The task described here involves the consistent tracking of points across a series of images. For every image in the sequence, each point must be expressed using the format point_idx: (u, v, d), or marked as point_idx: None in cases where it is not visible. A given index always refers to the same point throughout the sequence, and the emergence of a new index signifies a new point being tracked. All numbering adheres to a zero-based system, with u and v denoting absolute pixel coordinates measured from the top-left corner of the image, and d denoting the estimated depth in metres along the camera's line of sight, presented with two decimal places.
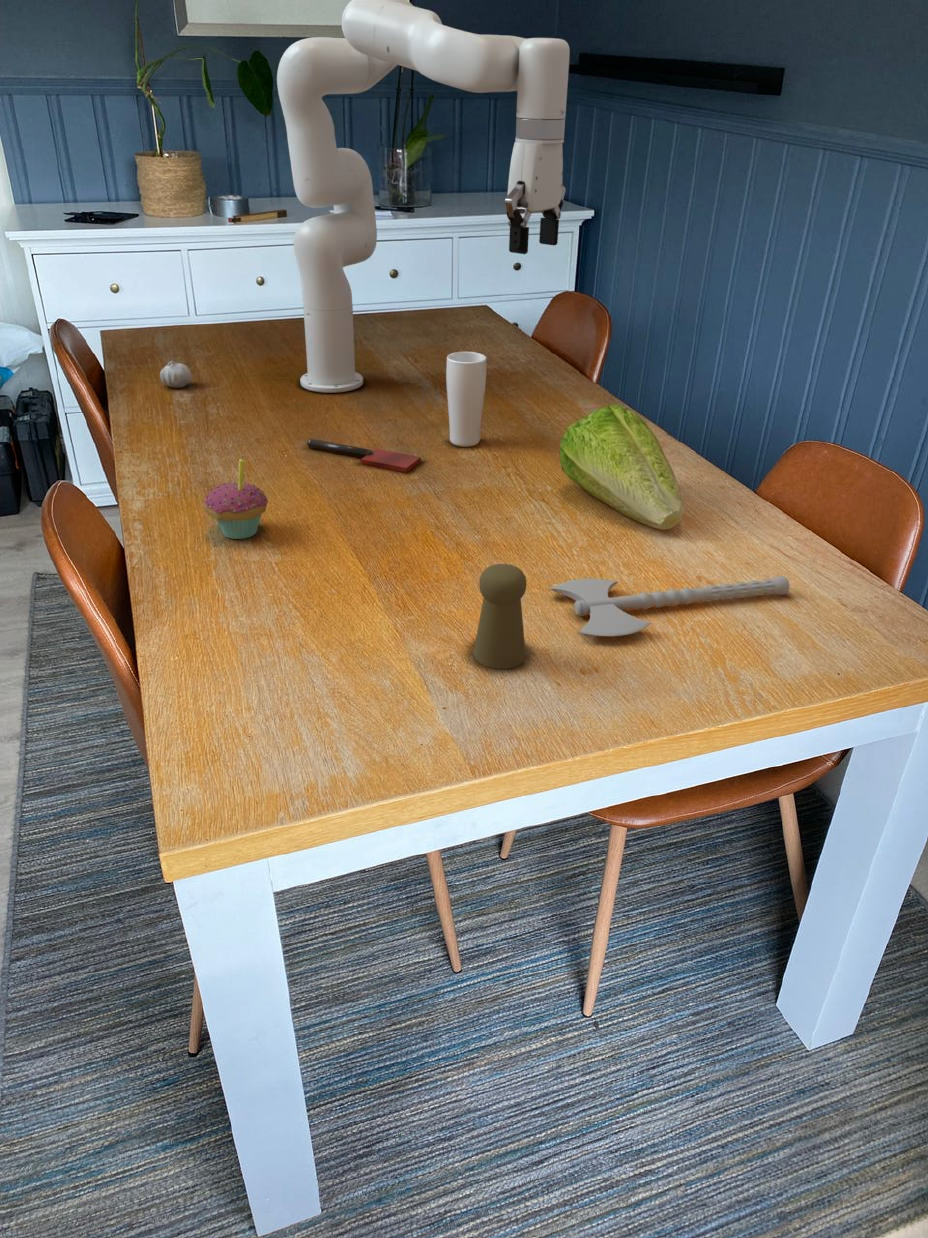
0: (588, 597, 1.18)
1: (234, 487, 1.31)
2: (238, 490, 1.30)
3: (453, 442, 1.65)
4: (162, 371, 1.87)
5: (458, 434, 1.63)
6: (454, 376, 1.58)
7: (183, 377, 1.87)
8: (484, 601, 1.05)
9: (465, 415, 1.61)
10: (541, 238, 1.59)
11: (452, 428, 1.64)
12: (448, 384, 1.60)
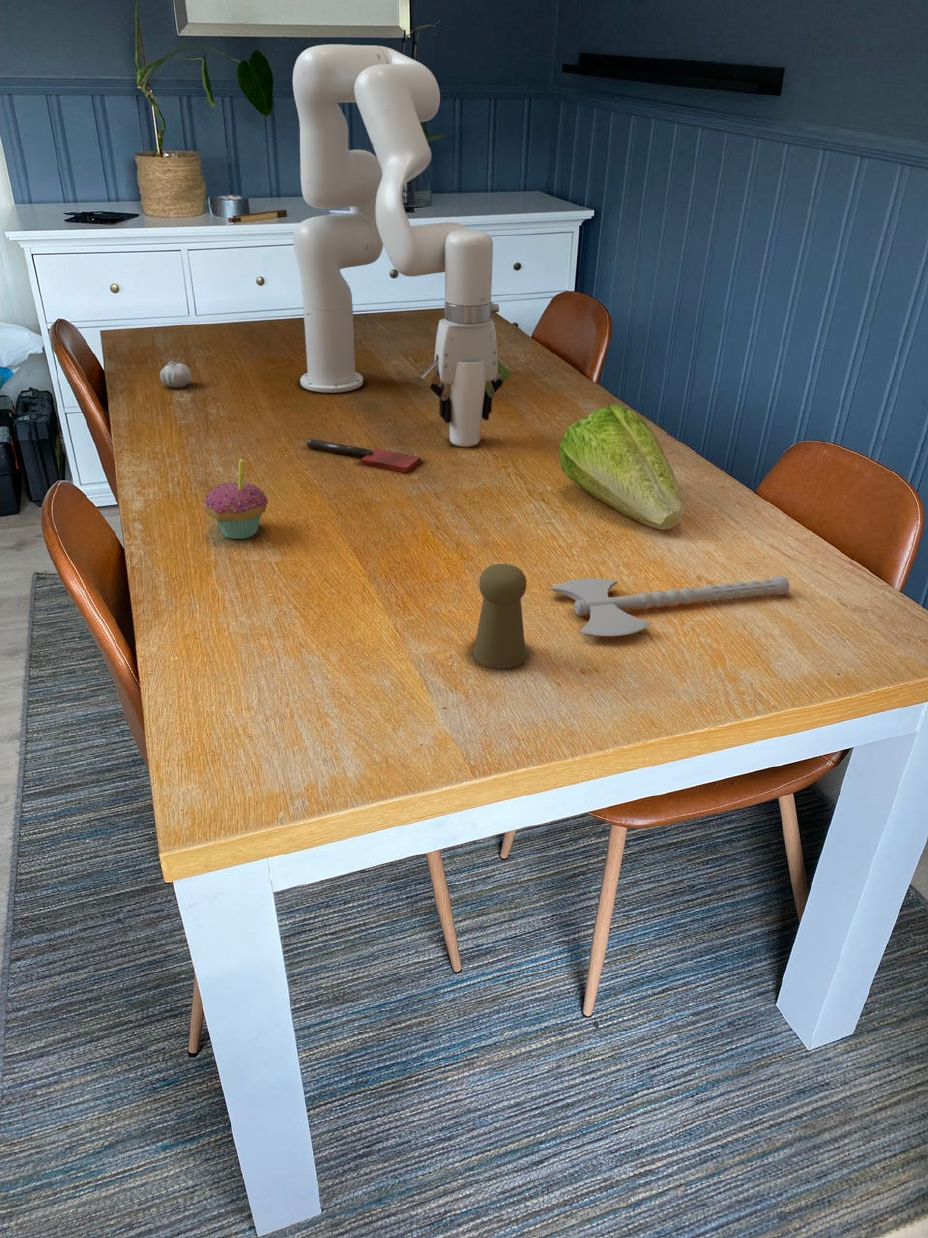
0: (588, 597, 1.18)
1: (234, 487, 1.31)
2: (238, 490, 1.30)
3: (453, 442, 1.65)
4: (162, 371, 1.87)
5: (458, 434, 1.63)
6: None
7: (183, 377, 1.87)
8: (484, 601, 1.05)
9: (465, 415, 1.61)
10: None
11: (452, 428, 1.64)
12: None
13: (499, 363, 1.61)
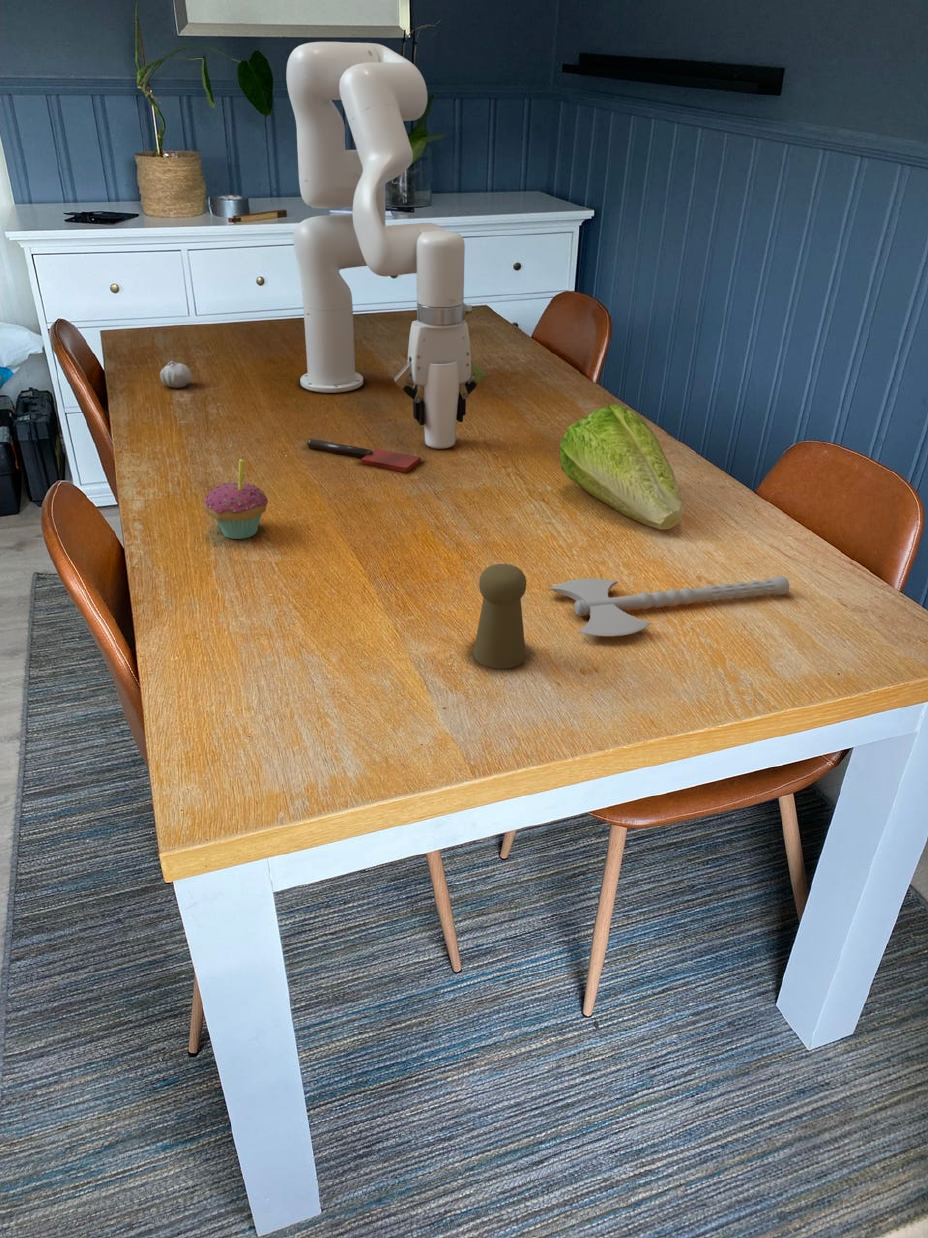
0: (588, 597, 1.18)
1: (234, 487, 1.31)
2: (238, 490, 1.30)
3: (428, 444, 1.64)
4: (162, 371, 1.87)
5: (433, 436, 1.62)
6: None
7: (183, 377, 1.87)
8: (484, 601, 1.05)
9: (439, 417, 1.60)
10: None
11: (427, 430, 1.63)
12: None
13: (473, 365, 1.59)
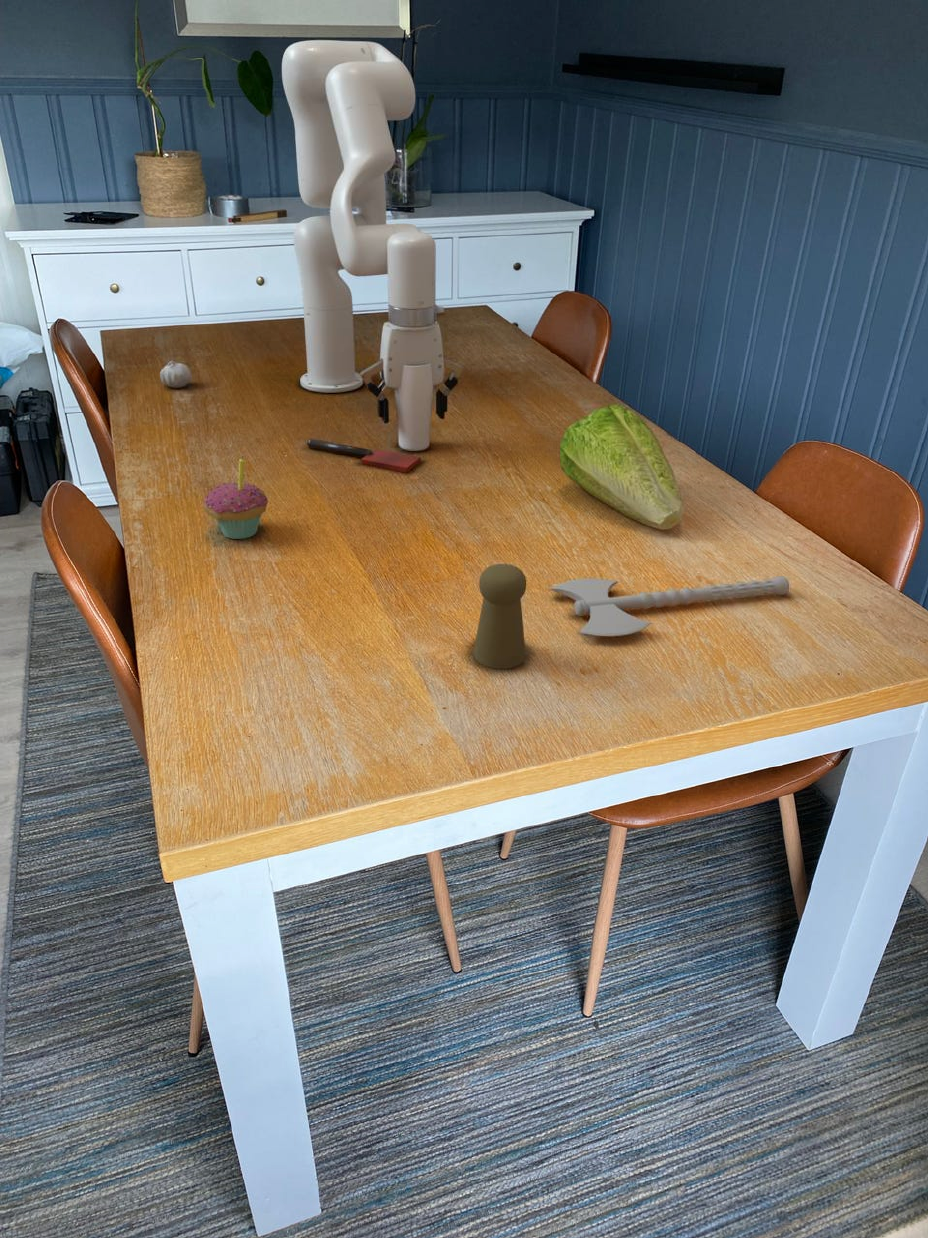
0: (588, 597, 1.18)
1: (234, 487, 1.31)
2: (238, 490, 1.30)
3: (402, 446, 1.63)
4: (162, 371, 1.87)
5: (406, 438, 1.61)
6: None
7: (183, 377, 1.87)
8: (484, 601, 1.05)
9: (413, 419, 1.59)
10: (436, 409, 1.63)
11: (400, 432, 1.61)
12: (395, 388, 1.57)
13: (448, 362, 1.58)
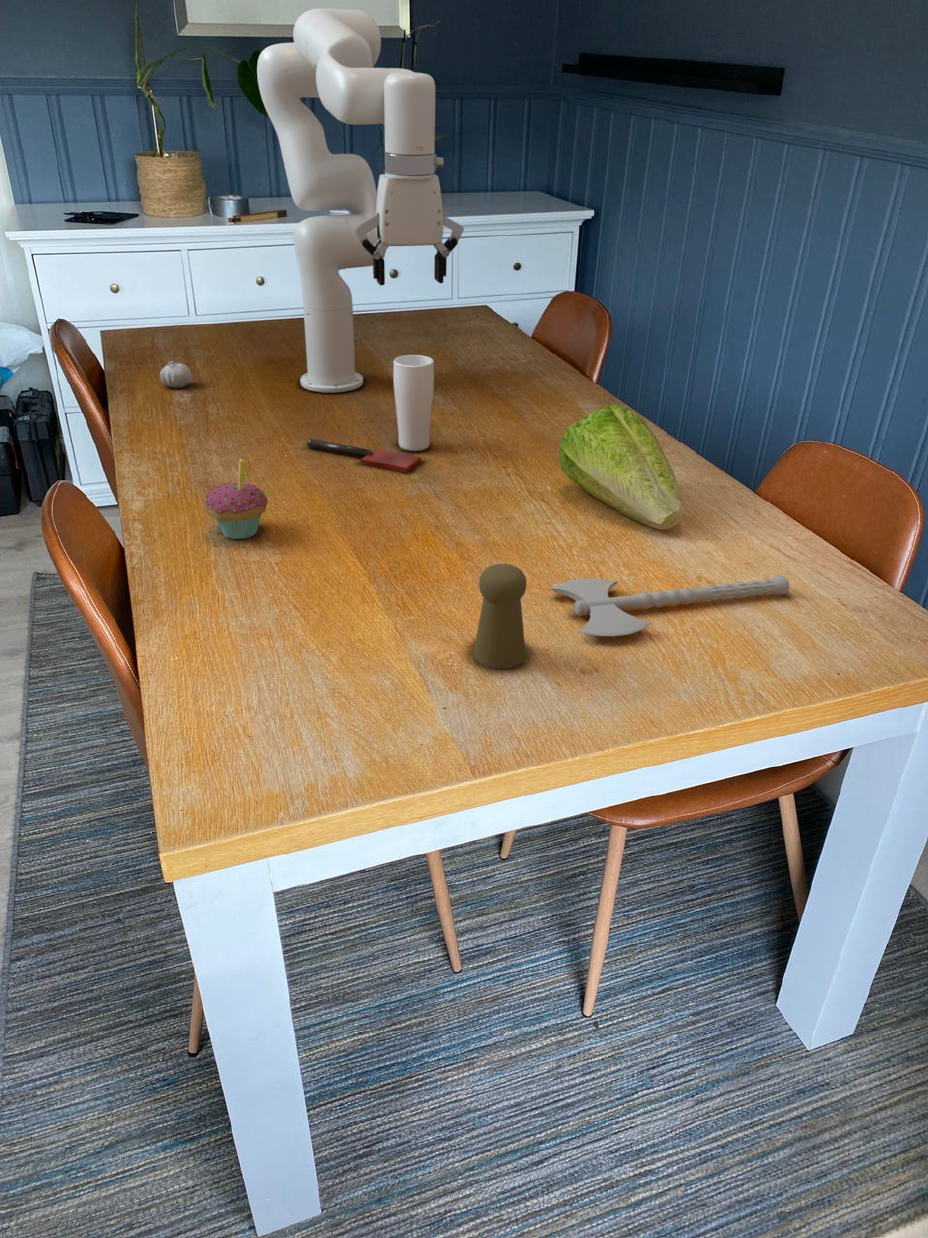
0: (588, 597, 1.18)
1: (234, 487, 1.31)
2: (238, 490, 1.30)
3: (402, 446, 1.63)
4: (162, 371, 1.87)
5: (406, 438, 1.61)
6: (400, 380, 1.56)
7: (183, 377, 1.87)
8: (484, 601, 1.05)
9: (413, 419, 1.59)
10: (434, 274, 1.56)
11: (400, 432, 1.61)
12: (395, 388, 1.57)
13: (448, 220, 1.50)
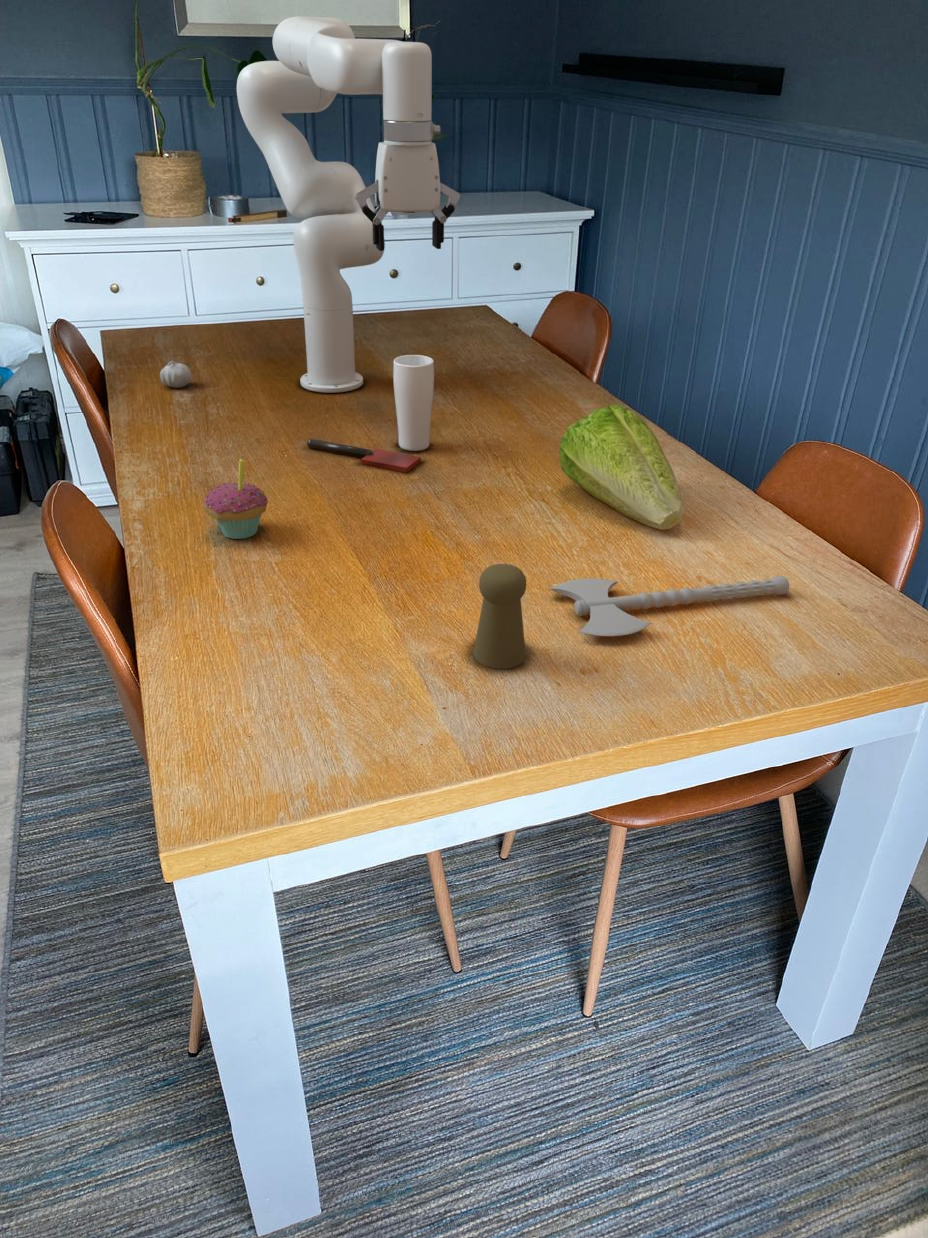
0: (588, 597, 1.18)
1: (234, 487, 1.31)
2: (238, 490, 1.30)
3: (402, 446, 1.63)
4: (162, 371, 1.87)
5: (406, 438, 1.61)
6: (400, 380, 1.56)
7: (183, 377, 1.87)
8: (484, 601, 1.05)
9: (413, 419, 1.59)
10: (432, 241, 1.60)
11: (400, 432, 1.61)
12: (395, 388, 1.57)
13: (445, 187, 1.55)
